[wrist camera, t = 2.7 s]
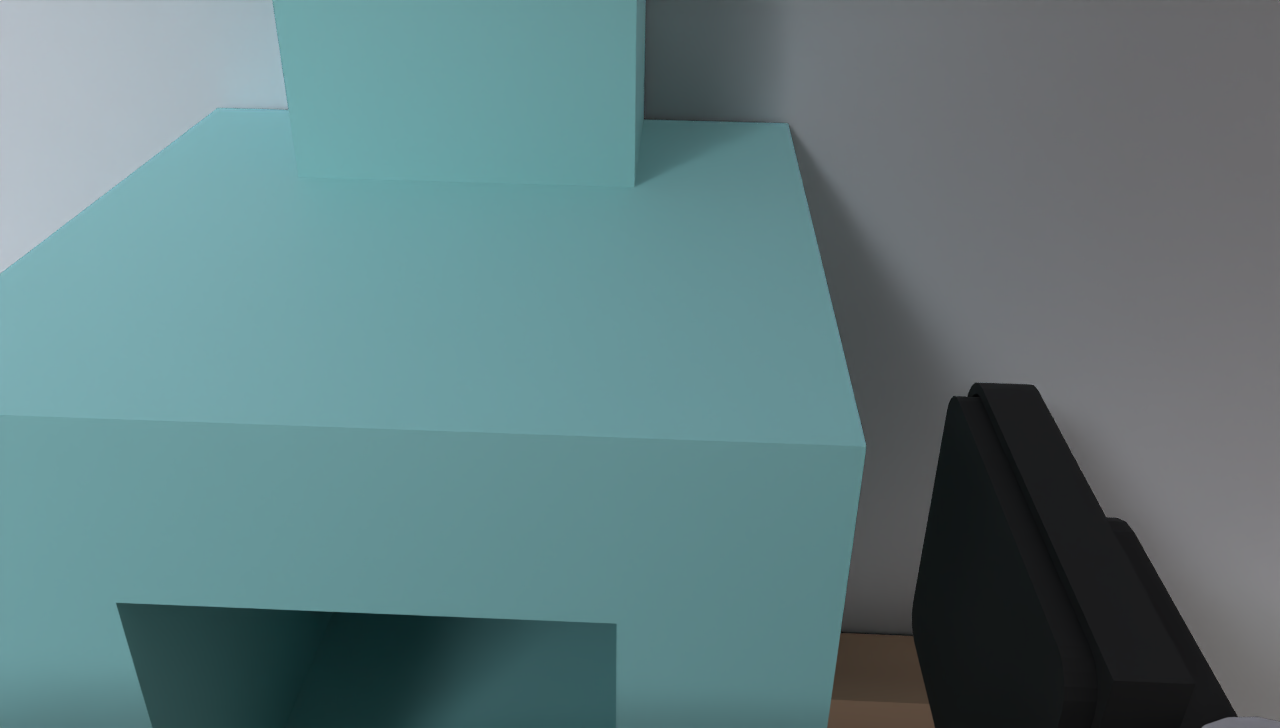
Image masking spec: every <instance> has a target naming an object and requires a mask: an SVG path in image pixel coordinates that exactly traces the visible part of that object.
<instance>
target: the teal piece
mask: <svg viewBox="0 0 1280 728" xmlns="http://www.w3.org/2000/svg"><path fill="white" fill-rule="evenodd" d="M272 1H273V8H274V14H275V21H276V28H277V35H278V41H279V48H280V55H281V62H282V69H283V75H284V82H285V89H286V96H287V103H288V109H289V110H277V109H240V108H217V109H216V110H214V111H213V112H212V113H210V114H209V115H208V116H207V117H205V118H204V119H203V120H201V121H200V122H199V123H197V124H196V125H195V126H193V127H192V128H191V129H189V130H188V131H187V132H186V133H184V134H183V135H182V136H180V137H179V138H178V139H176V140H175V141H174V142H172V143H171V144H170V145H168V146H167V147H166V148H165V149H163V150H162V151H161V152H159V153H158V154H157V155H155V156H154V157H153V158H151V159H150V160H149V161H148V162H146V163H145V164H144V165H142V166H141V167H140V168H138V169H137V170H136V171H134V172H133V173H132V174H130V175H129V176H128V177H127V178H125V179H124V180H123V181H121V182H120V183H119V184H117V185H116V186H115V187H113V188H112V189H111V190H109V191H108V192H107V193H106V194H104V195H103V196H102V197H100V198H99V199H98V200H96V201H95V202H94V203H92V204H91V205H90V206H89V207H87V208H86V209H85V210H83V211H82V212H81V213H79V214H78V215H77V216H75V217H74V218H73V219H71V220H70V221H69V222H68V223H66V224H65V225H64V226H62V227H61V228H60V229H58V230H57V231H56V232H54V233H53V234H52V235H51V236H49V237H48V238H47V239H45V240H44V241H43V242H41V243H40V244H39V245H37V246H36V247H35V248H33V249H32V250H31V251H30V252H28V253H27V254H26V255H24V256H23V257H22V258H20V259H19V260H18V261H16V262H15V263H14V264H12V265H11V266H10V267H9V268H7V269H6V270H5V271H3V272H2V273H1V274H0V728H827V725H828V718H829V711H830V704H831V697H832V689H833V682H834V675H835V668H836V661H837V654H838V647H839V639H840V632H841V625H842V618H843V611H844V604H845V597H846V589H847V582H848V575H849V568H850V561H851V554H852V547H853V539H854V532H855V525H856V518H857V511H858V504H859V496H860V489H861V482H862V475H863V468H864V461H865V454H866V442H865V438H864V434H863V430H862V426H861V422H860V418H859V413H858V409H857V405H856V401H855V397H854V393H853V389H852V385H851V380H850V376H849V372H848V368H847V364H846V360H845V356H844V352H843V347H842V343H841V339H840V335H839V331H838V327H837V323H836V319H835V314H834V310H833V306H832V302H831V298H830V294H829V290H828V286H827V281H826V277H825V273H824V269H823V265H822V261H821V257H820V252H819V248H818V244H817V240H816V236H815V232H814V228H813V224H812V219H811V215H810V211H809V207H808V203H807V199H806V195H805V191H804V186H803V182H802V178H801V174H800V170H799V166H798V162H797V158H796V153H795V149H794V145H793V141H792V137H791V133H790V129H789V125H788V123H757V122H720V121H683V120H646V119H644V76H645V14H646V0H272Z"/></svg>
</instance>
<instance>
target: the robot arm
mask: <svg viewBox="0 0 1280 728" xmlns="http://www.w3.org/2000/svg"><path fill="white" fill-rule="evenodd" d="M912 629H913V638H914V643H915V648H916V652H917V656H918V660H919V664H920V668H921V672H922V676H923V680H924V684H925V689H926V693H927V697H928V701H929V705H930V709H931V713H932V717H933V721H934V726H935V728H1280V721H1276V720H1271V719H1266V718H1261V717H1238V716H1237V715H1236V713H1235V711H1234V709H1233V708H1232V706H1231V704H1230V702H1229V700H1228V699H1227V697H1226V695H1225V693H1224V692H1223V690H1222V688H1221V686H1220V684H1219V683H1218V681H1217V679H1216V677H1215V676H1214V674H1213V672H1212V670H1211V668H1210V667H1209V665H1208V663H1207V661H1206V660H1205V658H1204V656H1203V654H1202V652H1201V651H1200V649H1199V647H1198V645H1197V643H1196V642H1195V640H1194V638H1193V636H1192V635H1191V633H1190V631H1189V629H1188V627H1187V626H1186V624H1185V622H1184V620H1183V619H1182V617H1181V615H1180V613H1179V611H1178V610H1177V608H1176V606H1175V604H1174V603H1173V601H1172V599H1171V597H1170V595H1169V594H1168V592H1167V590H1166V588H1165V587H1164V585H1163V583H1162V581H1161V579H1160V578H1159V576H1158V574H1157V572H1156V571H1155V569H1154V567H1153V565H1152V563H1151V562H1150V560H1149V558H1148V556H1147V555H1146V553H1145V551H1144V549H1143V547H1142V546H1141V544H1140V542H1139V540H1138V538H1137V537H1136V535H1135V533H1134V532H1133V530H1132V529H1131V528H1130V526H1129V525H1128V524H1127V523H1126V522H1125V521H1123V520H1121V519H1118V518H1106V516H1105V514H1104V513H1103V511H1102V509H1101V507H1100V505H1099V503H1098V501H1097V499H1096V498H1095V496H1094V494H1093V492H1092V490H1091V488H1090V486H1089V485H1088V483H1087V481H1086V479H1085V477H1084V475H1083V473H1082V471H1081V470H1080V468H1079V466H1078V464H1077V462H1076V460H1075V458H1074V457H1073V455H1072V453H1071V451H1070V449H1069V447H1068V445H1067V444H1066V442H1065V440H1064V438H1063V436H1062V434H1061V432H1060V430H1059V429H1058V427H1057V425H1056V423H1055V421H1054V419H1053V417H1052V416H1051V414H1050V412H1049V410H1048V408H1047V406H1046V404H1045V402H1044V401H1043V399H1042V397H1041V395H1040V393H1039V391H1038V390H1037V389H1036V387H1035V386H1034V385H1027V384H999V383H974V384H973V385H972V386H971V389H970V391H969V393H968V397H960V396H953V397H952V398H951V400H950V402H949V405H948V410H947V415H946V420H945V426H944V432H943V437H942V443H941V449H940V454H939V460H938V466H937V471H936V477H935V483H934V488H933V494H932V499H931V505H930V511H929V516H928V522H927V528H926V533H925V539H924V545H923V550H922V556H921V562H920V567H919V573H918V579H917V584H916V590H915V596H914V601H913V609H912Z"/></svg>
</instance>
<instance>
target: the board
mask: <svg viewBox="0 0 1280 728" xmlns="http://www.w3.org/2000/svg"><path fill="white" fill-rule="evenodd" d="M827 728H935V726H934V721H933V717H932V713H931V709H930V705H929V701H928V697H927V693H926V689H925V684H924V680H923V676H922V672H921V668H920V664H919V660H918V656H917V652H916V648H915V643H914V638H913V636H901V635H877V634H853V633H840V639H839V647H838V654H837V661H836V668H835V675H834V682H833V689H832V697H831V704H830V711H829V718H828V725H827Z"/></svg>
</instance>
